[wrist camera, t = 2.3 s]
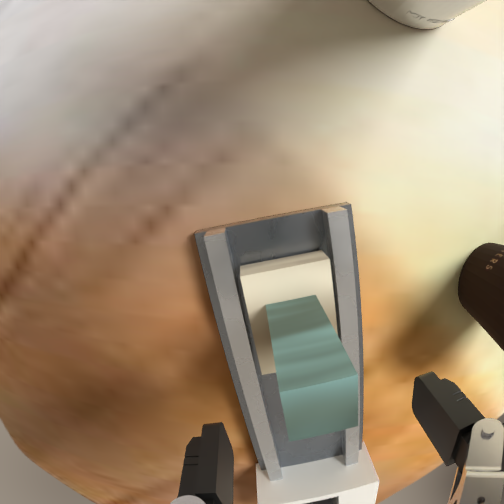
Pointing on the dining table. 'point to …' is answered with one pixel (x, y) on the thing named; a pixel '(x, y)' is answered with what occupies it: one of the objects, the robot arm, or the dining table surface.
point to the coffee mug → (485, 289)
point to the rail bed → (240, 333)
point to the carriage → (302, 342)
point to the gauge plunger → (323, 501)
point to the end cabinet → (321, 482)
